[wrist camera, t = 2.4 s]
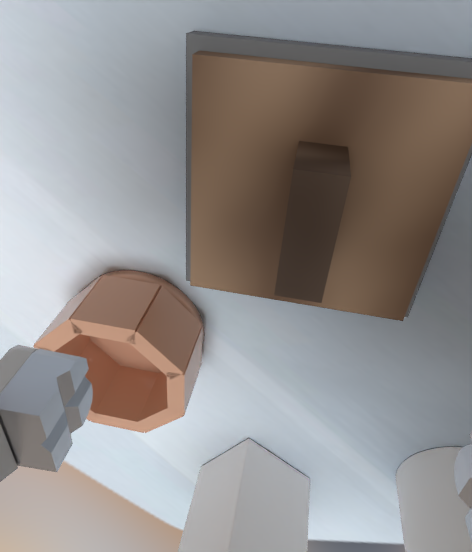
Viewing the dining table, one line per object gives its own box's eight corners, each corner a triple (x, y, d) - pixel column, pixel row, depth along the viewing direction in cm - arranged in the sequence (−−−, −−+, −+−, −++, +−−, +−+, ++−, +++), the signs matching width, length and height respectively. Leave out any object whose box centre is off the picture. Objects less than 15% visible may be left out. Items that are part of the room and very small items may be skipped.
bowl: (208, 281, 23) (184, 339, 19) (204, 378, 27) (184, 441, 24) (71, 257, 24) (23, 309, 20) (89, 356, 28) (52, 413, 24)
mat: (497, 61, 15) (506, 65, 14) (404, 304, 21) (407, 317, 20) (193, 30, 16) (186, 33, 15) (191, 269, 23) (186, 280, 22)
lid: (484, 80, 15) (529, 107, 11) (400, 307, 20) (413, 369, 17) (199, 50, 16) (164, 67, 12) (195, 274, 21) (171, 325, 18)
